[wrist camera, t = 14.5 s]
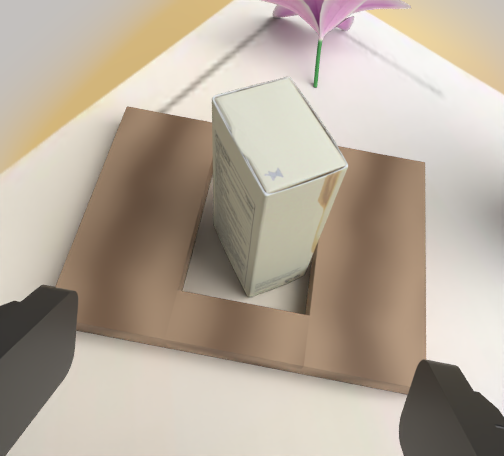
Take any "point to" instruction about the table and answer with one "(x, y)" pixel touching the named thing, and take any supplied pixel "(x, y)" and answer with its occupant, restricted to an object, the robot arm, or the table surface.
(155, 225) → the walnut board
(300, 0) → the lily
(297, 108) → the skincare box
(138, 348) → the table surface
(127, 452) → the table surface
